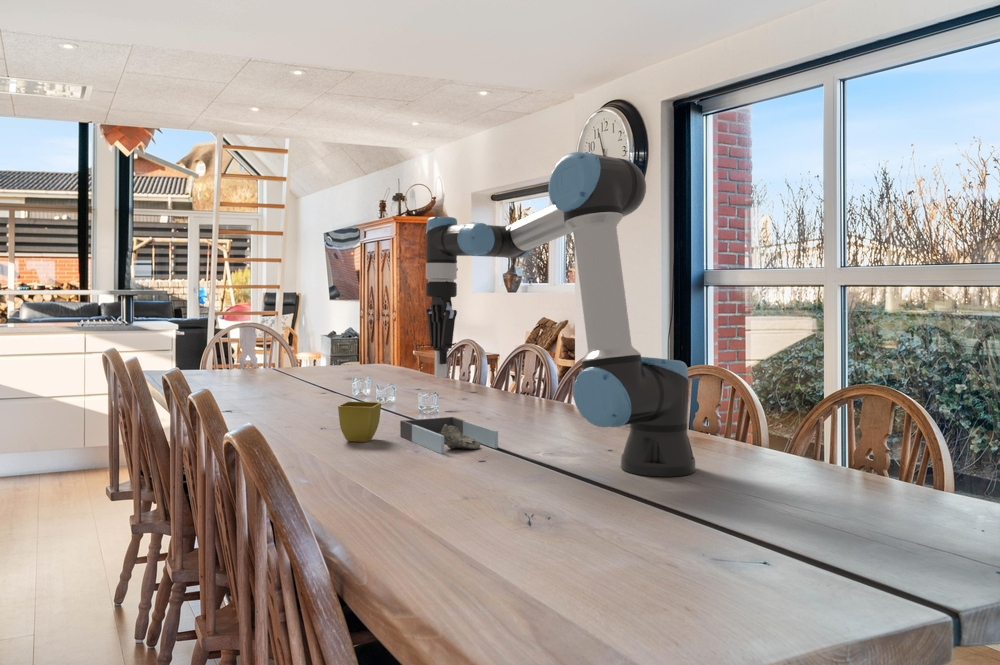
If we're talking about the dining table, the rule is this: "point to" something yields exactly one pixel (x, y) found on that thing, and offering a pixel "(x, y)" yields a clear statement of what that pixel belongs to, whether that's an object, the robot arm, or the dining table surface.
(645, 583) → the dining table surface
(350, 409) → the flower pot
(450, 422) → the grey open box
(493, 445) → the strips
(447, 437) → the rock sample
